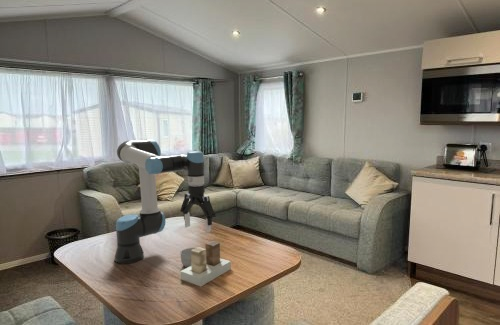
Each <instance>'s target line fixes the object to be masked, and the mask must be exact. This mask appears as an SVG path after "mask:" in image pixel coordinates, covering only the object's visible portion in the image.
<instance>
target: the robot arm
mask: <svg viewBox="0 0 500 325" xmlns="http://www.w3.org/2000/svg"><path fill="white" fill-rule="evenodd" d="M161 154H162V153H161V147H160V145H159V143H158V142H157V141H156V140H155V139H147V138H146V139H137V140H135V139H133V140H126V141H123V142H122V143H121V144H119V146H118V147H117V149H116V155H117V157H118V159H119V160H120V161H121V162H123V163H125V164H134V165H136V166H137V167H138V174H139V184H140V185H139V188H140V201H141V210H139V215H138V214H135V213H134V214H127V215H123V216H121V217H119V218H117V219H116V222H115V230H116V243H117V245H116V250H115V254H114V262H115V261H116V262H115V263H117V262H118V264H121V263H127V264H132V263H136V262H139V261H141V260H142V259H144V257H145V254H144V252H145V251H144V250H143V247H142V246H141V240H140V239H141V238H143V237H147V236H150V235H155V234H158V233H160V232H162V231H163V230H164V229H165V226H166V216H165V213H164V212H163V211H161V209H160V208H159V206H158V197H157V195H158V193H157V192H158V191H157V182H156V181H157V180H156V175H159V174H165V173H172V172H180V171H187V184H188V186H187V188H188V190H187V191H188V193H187V192H186V193H184V199H183V202H182V204H181V207H180V212H182V214H183V220H184V227H185V228H189V227H190V226H191V217H190V216H191V215H190V213H191V212H189V211H191V208H193V206H194V205H196V206H198V207H199V208H200V209H201V210H202V212H203V214H204V215H205V217H206V218H205V233H209V232H212V225H213V218H215V217H216V213H215V210H214V209H213V205H212V203H211V200H210V196H209V195H207V196H205V193H206V192H205V191H206V190H205V187H206V186H205V158H204V153H203V152H202V151H198V150H196V151H195V150H194V151H188V152H187V153H186V154H184V153H180V154H179V153H178V154H175V155H165V156H164V155H163V156H161Z"/></svg>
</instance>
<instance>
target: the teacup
mask: <svg viewBox="0 0 500 325" xmlns="http://www.w3.org/2000/svg"><path fill="white" fill-rule="evenodd" d="M195 248H196V247H188V248H184V249H182V250H180V253H179V254H180V260H181V261H180V262H181V264H182V265H183V266H184V267H185V268H188V267H190V266H191V250H193V249H195Z"/></svg>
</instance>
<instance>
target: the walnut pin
mask: <svg viewBox="0 0 500 325" xmlns="http://www.w3.org/2000/svg"><path fill="white" fill-rule="evenodd" d="M204 244H205V249H206V264H208V265H211V266H215V265H217V264H219V263H220V258H221V244H220V242H219V241H214V240H211V241H208V242H207V243H204Z"/></svg>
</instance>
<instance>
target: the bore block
mask: <svg viewBox="0 0 500 325" xmlns="http://www.w3.org/2000/svg"><path fill="white" fill-rule="evenodd" d="M206 265H207V270H206V271H204V272H202V273H201V274H198V273H195V272H192V267H191V266H190V267H185V268H184V269H182V270H180V272H179V273H180V280H181V281H184V282H187V283H189V284H192V285H196V286H198V287H203V286H204V285H206V284H207V283H210V282H211V281H213V280H215V279H216V278H218V277H219V276H222V275H224V274H225V273H227V272H228V271H230V270H232V261H231V260H228V259H224V258H221V257H220V263H219V264H217V265H215V266H211V265H208V264H206Z"/></svg>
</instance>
